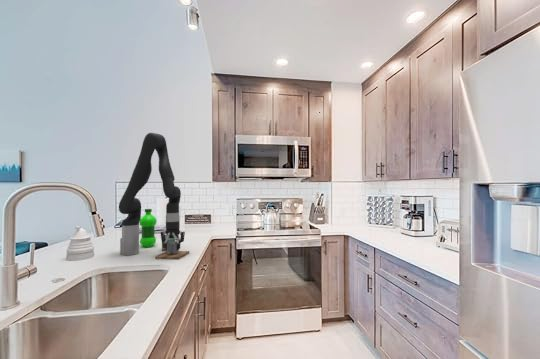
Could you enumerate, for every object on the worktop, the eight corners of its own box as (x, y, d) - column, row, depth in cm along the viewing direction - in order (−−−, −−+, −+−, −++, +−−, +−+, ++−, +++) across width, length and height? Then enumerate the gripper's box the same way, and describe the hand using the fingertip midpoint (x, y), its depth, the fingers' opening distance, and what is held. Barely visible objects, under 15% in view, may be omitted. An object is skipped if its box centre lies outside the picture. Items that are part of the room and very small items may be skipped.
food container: (169, 251, 166) (169, 235, 166) (160, 251, 167) (160, 235, 167) (180, 247, 178) (180, 232, 178) (171, 246, 179) (171, 231, 179)
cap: (165, 252, 153) (165, 243, 153) (170, 249, 159) (170, 240, 159) (175, 252, 152) (175, 243, 152) (179, 249, 158) (179, 241, 158)
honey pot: (79, 261, 146) (80, 228, 146) (60, 260, 148) (60, 227, 149) (99, 255, 158) (99, 224, 159) (81, 254, 161) (81, 224, 161)
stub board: (154, 258, 150) (154, 250, 150) (167, 252, 163) (167, 244, 164) (178, 259, 148) (178, 250, 148) (189, 253, 162) (189, 245, 162)
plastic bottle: (144, 244, 186) (144, 208, 186) (159, 244, 185) (159, 208, 186) (136, 248, 176) (136, 209, 176) (152, 248, 175) (152, 209, 176)
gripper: (157, 221, 153) (157, 251, 153) (181, 221, 152) (181, 251, 151) (164, 219, 161) (164, 248, 160) (187, 219, 159) (187, 248, 159)
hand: (172, 249), depth 156 cm, fingers closed on cap, 6 cm apart
